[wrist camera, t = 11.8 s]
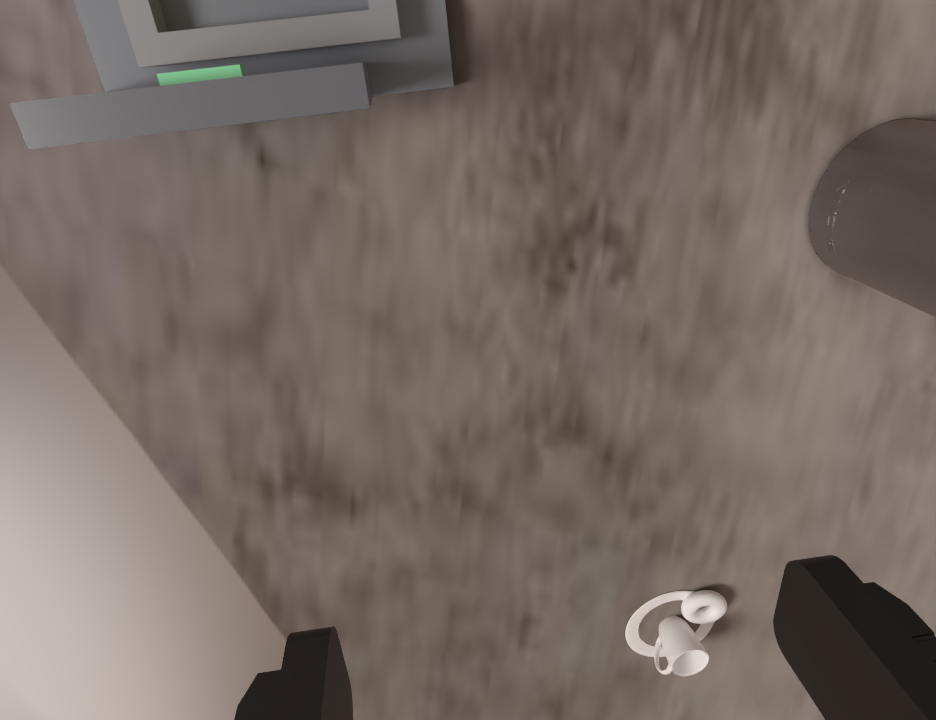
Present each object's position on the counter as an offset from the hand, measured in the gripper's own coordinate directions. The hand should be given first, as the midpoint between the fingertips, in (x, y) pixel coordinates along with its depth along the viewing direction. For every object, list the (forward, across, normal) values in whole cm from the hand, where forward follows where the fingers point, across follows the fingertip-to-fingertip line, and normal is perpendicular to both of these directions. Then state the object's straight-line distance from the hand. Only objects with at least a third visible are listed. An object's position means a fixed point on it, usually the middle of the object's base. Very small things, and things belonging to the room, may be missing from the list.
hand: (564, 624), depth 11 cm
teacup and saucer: (+27, -19, +36) cm, 49 cm away
